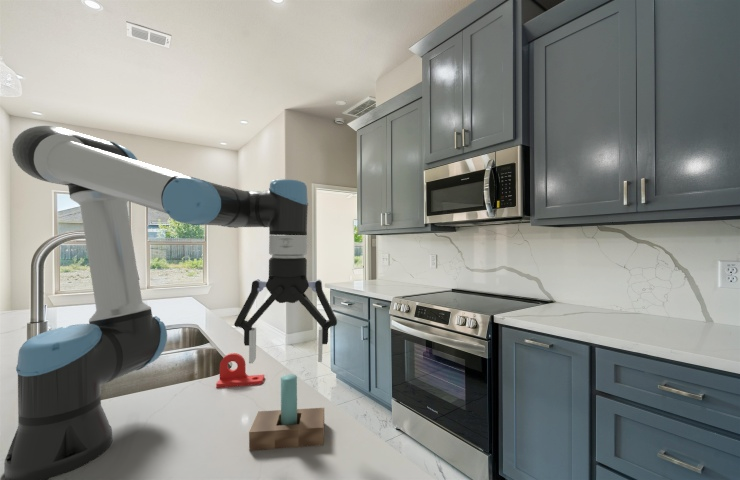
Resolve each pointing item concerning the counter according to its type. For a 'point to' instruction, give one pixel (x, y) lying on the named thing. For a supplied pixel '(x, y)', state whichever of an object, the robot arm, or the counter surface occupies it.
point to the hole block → (287, 430)
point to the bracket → (236, 373)
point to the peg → (289, 400)
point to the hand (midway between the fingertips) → (286, 360)
